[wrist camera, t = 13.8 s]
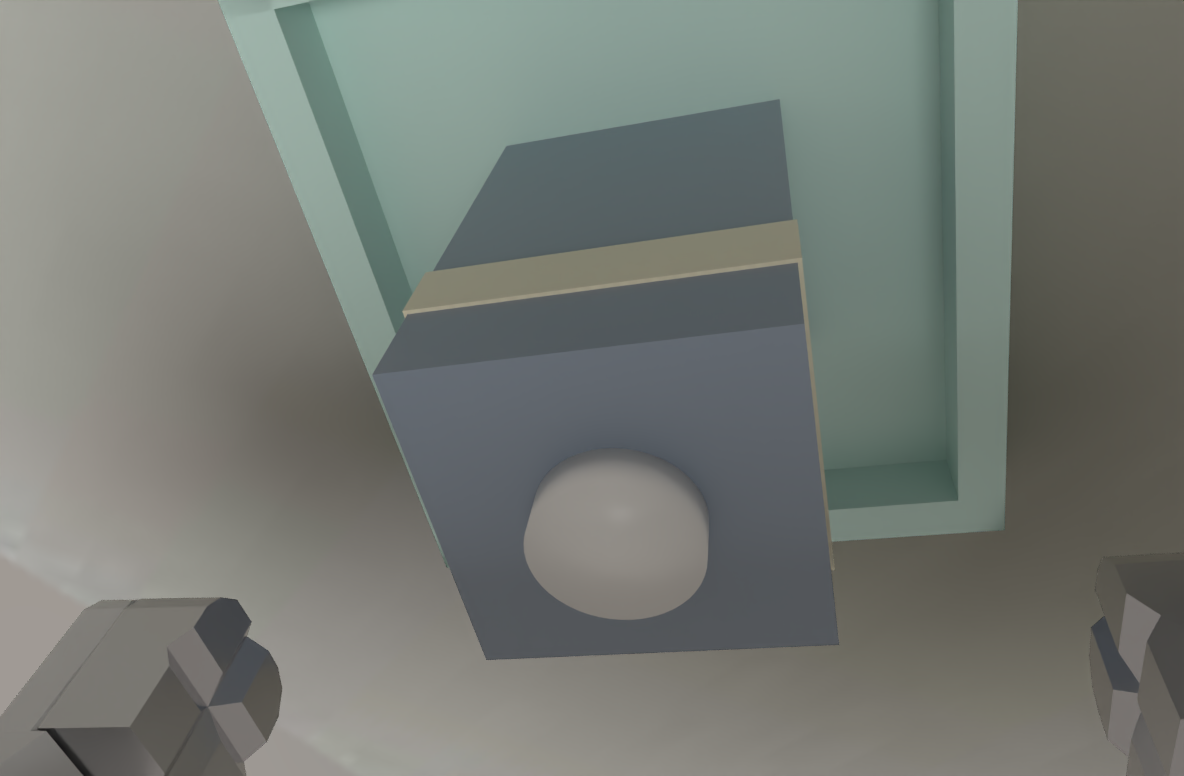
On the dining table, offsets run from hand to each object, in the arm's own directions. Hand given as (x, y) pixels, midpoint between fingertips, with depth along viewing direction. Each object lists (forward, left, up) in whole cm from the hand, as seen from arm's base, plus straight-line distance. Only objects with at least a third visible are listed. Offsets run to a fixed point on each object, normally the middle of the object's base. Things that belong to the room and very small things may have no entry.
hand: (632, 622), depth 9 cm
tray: (0, 0, -9) cm, 9 cm away
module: (0, 0, -9) cm, 9 cm away
